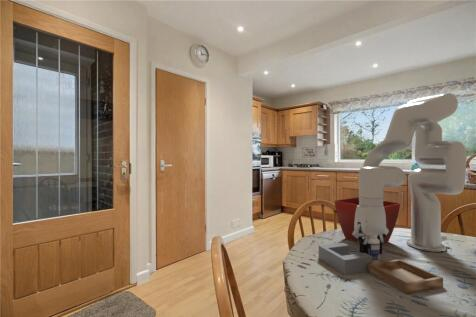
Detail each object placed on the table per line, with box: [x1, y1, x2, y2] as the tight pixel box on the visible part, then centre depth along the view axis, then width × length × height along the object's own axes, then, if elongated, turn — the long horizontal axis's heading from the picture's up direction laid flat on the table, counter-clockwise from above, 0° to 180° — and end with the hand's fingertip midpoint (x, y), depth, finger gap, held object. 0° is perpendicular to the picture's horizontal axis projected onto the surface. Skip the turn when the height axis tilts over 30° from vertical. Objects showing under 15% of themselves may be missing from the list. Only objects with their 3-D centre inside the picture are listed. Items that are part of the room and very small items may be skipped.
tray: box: [367, 258, 444, 295], centre depth 71 cm, size 13×13×2 cm
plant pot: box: [334, 196, 401, 244], centre depth 105 cm, size 19×19×17 cm
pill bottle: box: [363, 235, 381, 263], centre depth 84 cm, size 5×5×10 cm
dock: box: [318, 242, 372, 276], centre depth 81 cm, size 10×13×4 cm
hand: (370, 253), depth 84 cm, fingers closed on pill bottle, 5 cm apart
